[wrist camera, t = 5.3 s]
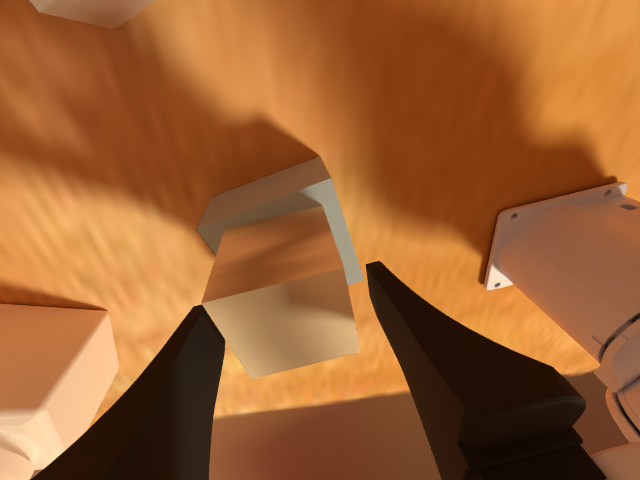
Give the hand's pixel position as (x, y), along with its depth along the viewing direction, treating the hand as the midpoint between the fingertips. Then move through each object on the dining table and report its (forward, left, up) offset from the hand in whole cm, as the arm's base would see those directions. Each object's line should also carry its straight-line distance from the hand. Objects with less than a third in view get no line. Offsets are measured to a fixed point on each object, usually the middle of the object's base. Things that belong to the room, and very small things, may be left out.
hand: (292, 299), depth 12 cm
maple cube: (0, 0, -3) cm, 3 cm away
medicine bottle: (+19, +5, -7) cm, 21 cm away
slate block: (0, 0, -7) cm, 7 cm away
